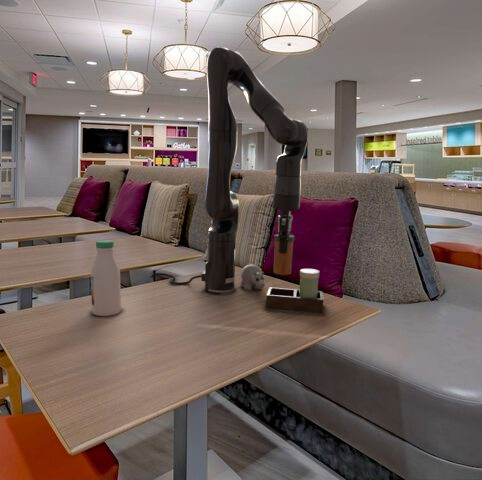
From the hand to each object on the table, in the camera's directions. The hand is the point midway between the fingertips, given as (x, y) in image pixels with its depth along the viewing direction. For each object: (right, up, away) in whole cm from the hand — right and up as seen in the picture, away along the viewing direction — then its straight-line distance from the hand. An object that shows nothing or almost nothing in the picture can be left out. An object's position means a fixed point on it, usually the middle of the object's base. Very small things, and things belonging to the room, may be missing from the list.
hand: (283, 250), depth 121 cm
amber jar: (0, -6, +1) cm, 7 cm away
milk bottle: (-50, -17, -5) cm, 53 cm away
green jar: (+7, -17, +1) cm, 18 cm away
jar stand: (+3, -17, +2) cm, 18 cm away
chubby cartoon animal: (-8, -14, +18) cm, 24 cm away
